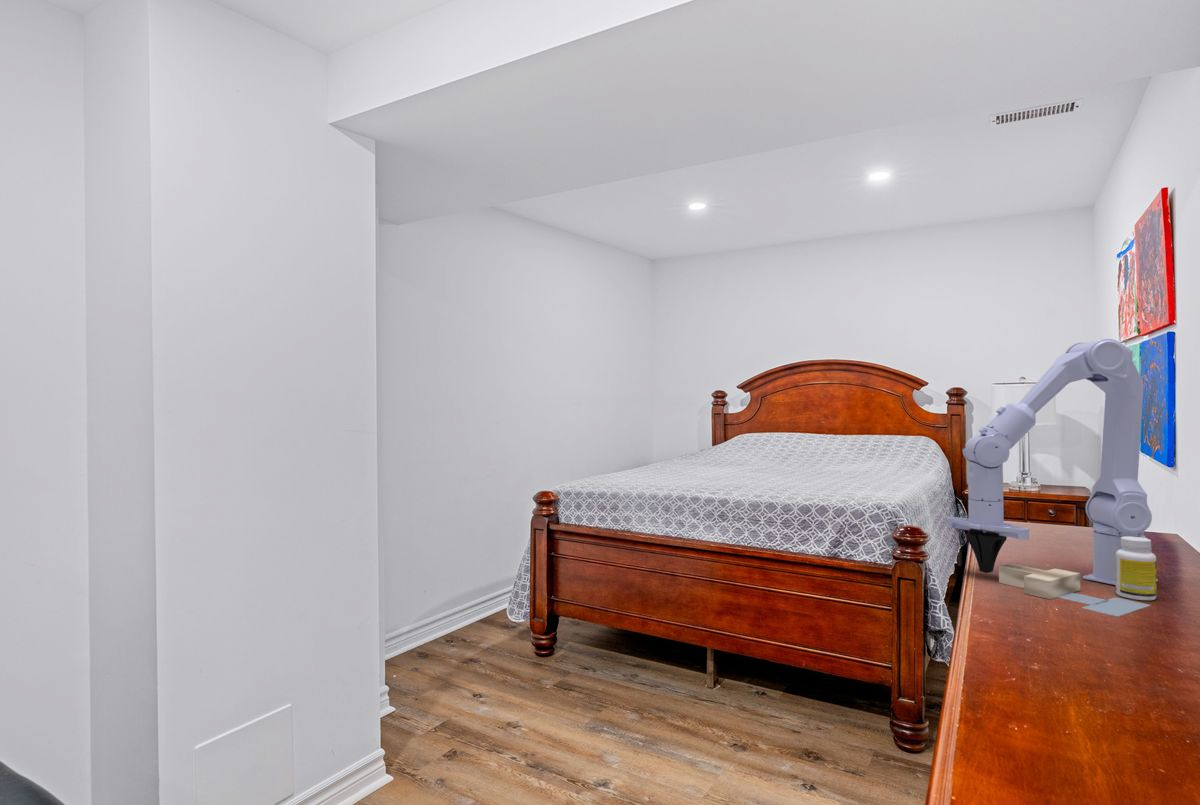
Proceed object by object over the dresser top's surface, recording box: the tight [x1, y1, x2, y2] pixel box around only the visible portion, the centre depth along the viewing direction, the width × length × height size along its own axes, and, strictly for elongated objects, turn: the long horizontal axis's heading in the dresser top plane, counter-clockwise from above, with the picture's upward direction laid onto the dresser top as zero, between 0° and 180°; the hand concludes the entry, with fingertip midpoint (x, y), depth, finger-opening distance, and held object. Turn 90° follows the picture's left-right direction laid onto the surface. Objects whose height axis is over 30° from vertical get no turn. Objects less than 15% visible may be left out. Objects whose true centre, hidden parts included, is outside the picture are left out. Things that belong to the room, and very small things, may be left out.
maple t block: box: [998, 563, 1081, 600], centre depth 118 cm, size 10×10×3 cm
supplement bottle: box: [1115, 536, 1158, 601], centre depth 113 cm, size 5×5×10 cm
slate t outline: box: [1057, 592, 1152, 618], centre depth 110 cm, size 11×11×1 cm
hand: (986, 571), depth 126 cm, fingers closed
